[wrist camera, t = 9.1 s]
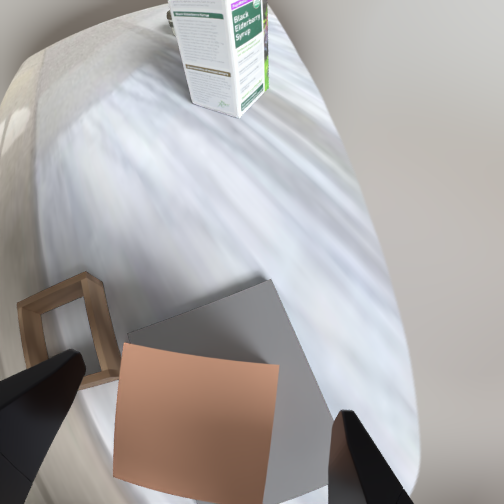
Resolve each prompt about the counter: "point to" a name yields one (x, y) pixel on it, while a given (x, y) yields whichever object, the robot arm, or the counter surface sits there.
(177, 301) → the counter surface
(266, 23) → the syrup box
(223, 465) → the terracotta block
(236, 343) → the slate board
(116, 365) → the walnut holder
